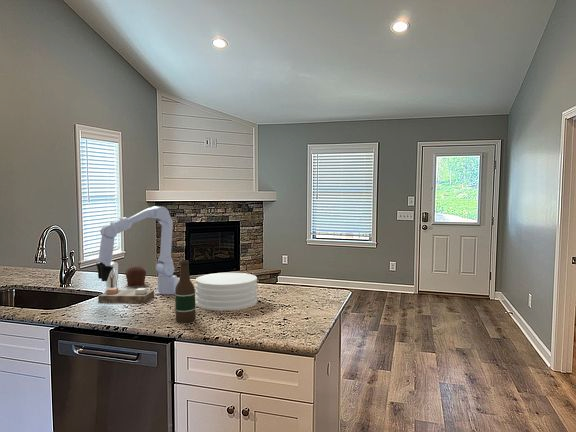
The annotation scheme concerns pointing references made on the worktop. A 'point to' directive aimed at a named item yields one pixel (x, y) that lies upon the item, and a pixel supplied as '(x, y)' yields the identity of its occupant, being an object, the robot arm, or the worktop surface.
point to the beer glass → (112, 276)
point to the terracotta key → (112, 291)
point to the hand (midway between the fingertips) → (102, 279)
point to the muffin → (135, 276)
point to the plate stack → (226, 291)
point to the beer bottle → (184, 296)
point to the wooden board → (126, 296)
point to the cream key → (141, 291)
